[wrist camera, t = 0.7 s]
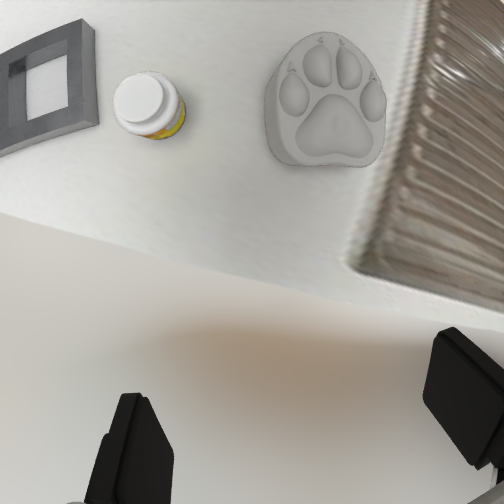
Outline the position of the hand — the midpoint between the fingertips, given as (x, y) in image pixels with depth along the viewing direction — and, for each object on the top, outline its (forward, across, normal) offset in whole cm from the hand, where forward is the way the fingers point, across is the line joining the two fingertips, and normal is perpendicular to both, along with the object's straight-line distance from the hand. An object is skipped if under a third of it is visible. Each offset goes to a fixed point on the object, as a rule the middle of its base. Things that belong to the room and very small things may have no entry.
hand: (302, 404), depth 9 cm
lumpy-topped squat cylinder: (+27, -9, -12) cm, 31 cm away
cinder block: (+27, +26, -20) cm, 42 cm away
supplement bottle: (+27, +7, -13) cm, 31 cm away
